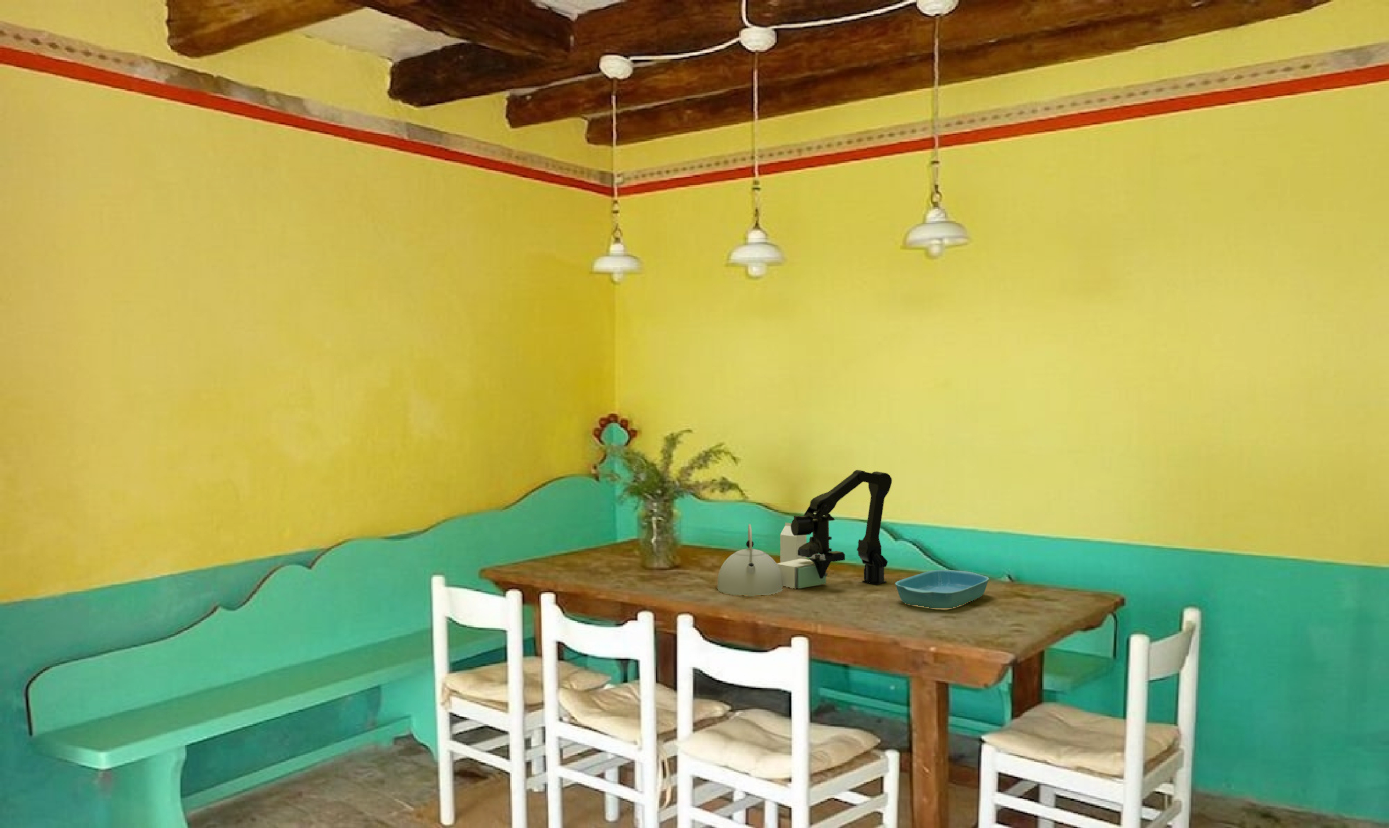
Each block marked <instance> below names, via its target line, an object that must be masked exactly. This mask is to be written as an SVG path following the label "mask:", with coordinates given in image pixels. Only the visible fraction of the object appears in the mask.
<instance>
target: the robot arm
mask: <svg viewBox="0 0 1389 828" xmlns="http://www.w3.org/2000/svg"><path fill="white" fill-rule="evenodd" d="M892 482H893V478H892V477H891V475H890V474H889V473H887V472H882V471H878V470H877V471H872V472H868V471H865V470H862V469H856V470H854V471H853V472H852V473H851V474H850V475H848V476H847V477H845V479H843V480H841V482H839V483H838V484H837V485H835V486H834V487H833V488H832V489H830V490H829V491H827V492H824V493H821V494H818V495H817V496H814V497H813V498H812V499H810V501H809V505H808V507H807V509H806V510H805V512H804V514H803V515H793V519H792V520H791V523H792V524H791V531H792V534H793V535H794V536H798V535H806V536H809V538H808V539H809V541H808V542H806V544H804V545H802V546H801V547H799V549H798V555H799V556H802V557H803V556H804V557H806V559H808V560H811V561H812V562H814V564H815V566H816V569H817V571H818V574H819V577H820V579H822V578H823V577H824V575H825V573H827V570H828V568H829V566H830V564H831V563H832V562H835V563H836V562H842V561H846V554H845V553H844V552H843V551H838V550H834V551H833V549H832V548H831V547H830V541H832V539H833V538H832V536H830V527H829V526H830V525H829V523H830V522H833V521H835V518H834V517H833V516H832V515H831V512H832V511H833V510H834V509H835V508H836V506H837V504H838V502H840V500H842V499H843V498H844V497H845V496H847V495H848V494H849V493H850V492H852V491H853V490H855V489H856V488H857V487H858V486H859V485H861V484H862V483H868V490H869V494H870V498H869V499H870V500H869V508H868V514H867V520H866V527H865V529H866V530H865V534H864V537H863V538H862V539H858V542H857V544H858V545H857V548H856V551H857V555H858V557H859V558H860V559H861V562H862V564H863V565H864V568H863V580H861V582H862V583H864V582H865V583H866V584H871V585H880V584H885V583H887V582H888V581H887V580H885V568H886V567H887V566H888V562H889V561H888V560H887V559H886V558H885V556H883V554H882V544H881V540H880V534H881V533H880V532H881V524H882V519H883V518H882V517H883V511H884V504H885V498H886V497H887V496H888V494H889V492H890V491H891V490H890V489H891V487H892ZM810 535H812V536H810ZM865 583H864V584H865Z"/></svg>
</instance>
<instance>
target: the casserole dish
mask: <svg viewBox="0 0 1389 828" xmlns="http://www.w3.org/2000/svg"><path fill="white" fill-rule="evenodd" d="M989 581H990V578H989V576H986V575H982V574H979V573H976V572H972V571H964V570H953V569H951V570H950V569H936V570H935V569H934V570H928V571H925V572H921V573H918V574H915V575H912V576H909V577H905V578H903V579H900V580H898V581H896V582H894V583H895V587H896V591H897V594H898V595H899V598H900V601H901V602H902V603H904V604H905V603H906V604H910V605H918V606H924V607H929V608H953V607H957V606H959V605H962V606H964V605H963V604H965V603H967V602H969V601H972V602H974V601H976V600H975V599H977V598H978V599H980V598H981V597H982V596H983V595H984V594H985V592H986V589H987V587H988V582H989ZM978 599H977V600H978ZM973 600H974V601H973ZM906 604H905V605H906ZM967 604H968V603H967ZM910 605H909V606H910ZM965 605H966V604H965ZM957 608H958V607H957Z"/></svg>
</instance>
